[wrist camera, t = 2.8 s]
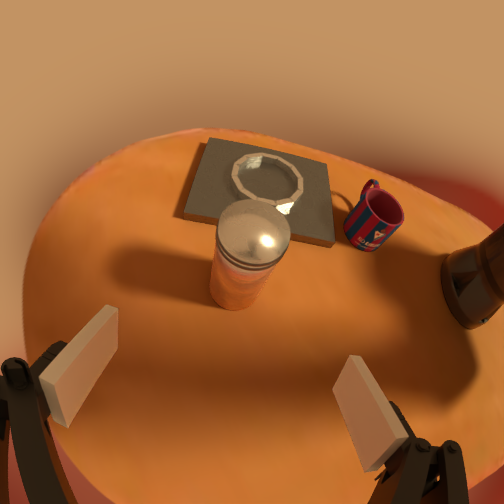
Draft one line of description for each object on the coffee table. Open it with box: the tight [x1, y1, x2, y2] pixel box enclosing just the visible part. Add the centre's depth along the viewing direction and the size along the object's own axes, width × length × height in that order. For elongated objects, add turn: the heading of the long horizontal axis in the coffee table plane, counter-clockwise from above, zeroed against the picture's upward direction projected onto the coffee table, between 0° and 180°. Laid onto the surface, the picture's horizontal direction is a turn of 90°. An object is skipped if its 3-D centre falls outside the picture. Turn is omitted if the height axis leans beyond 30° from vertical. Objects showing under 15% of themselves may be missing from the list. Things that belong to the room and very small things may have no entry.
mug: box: [344, 179, 404, 252], centre depth 37 cm, size 7×10×7 cm
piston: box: [209, 199, 291, 311], centre depth 26 cm, size 6×6×12 cm
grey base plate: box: [183, 137, 335, 248], centre depth 38 cm, size 20×16×3 cm
